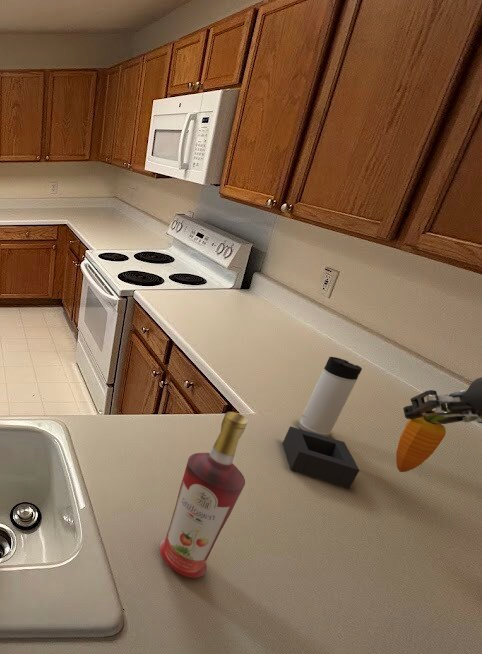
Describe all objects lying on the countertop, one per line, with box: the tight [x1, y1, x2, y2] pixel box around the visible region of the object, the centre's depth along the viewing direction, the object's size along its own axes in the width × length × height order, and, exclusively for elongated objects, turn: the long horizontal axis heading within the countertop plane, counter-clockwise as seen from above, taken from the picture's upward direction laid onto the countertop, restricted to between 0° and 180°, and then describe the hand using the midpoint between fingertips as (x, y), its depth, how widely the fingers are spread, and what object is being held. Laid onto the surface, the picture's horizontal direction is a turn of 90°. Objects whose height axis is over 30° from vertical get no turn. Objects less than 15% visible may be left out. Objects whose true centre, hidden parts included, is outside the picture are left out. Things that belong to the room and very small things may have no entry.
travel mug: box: [297, 356, 363, 438], centre depth 99 cm, size 6×7×20 cm
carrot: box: [395, 408, 451, 473], centre depth 74 cm, size 5×5×15 cm
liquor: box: [159, 411, 249, 578], centre depth 60 cm, size 7×7×28 cm
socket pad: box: [282, 425, 360, 490], centre depth 90 cm, size 10×10×5 cm
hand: (422, 415), depth 75 cm, fingers closed on carrot, 4 cm apart
